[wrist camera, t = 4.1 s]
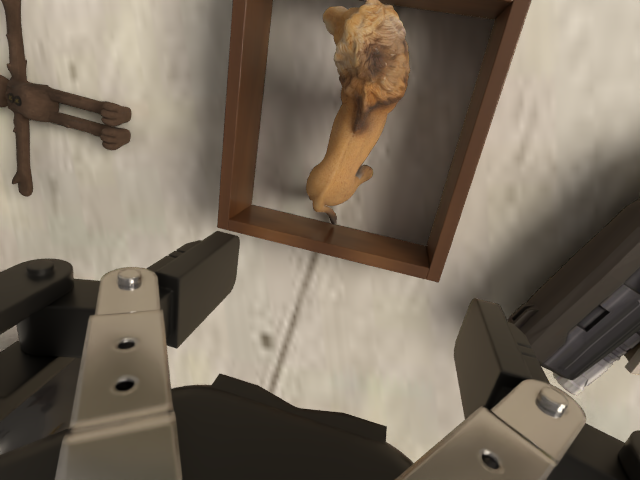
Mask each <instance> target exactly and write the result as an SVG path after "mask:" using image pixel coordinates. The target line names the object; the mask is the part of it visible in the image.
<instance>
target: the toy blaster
mask: <svg viewBox="0 0 640 480" xmlns="http://www.w3.org/2000/svg"><path fill="white" fill-rule="evenodd" d="M507 320H508V323H512V324H514V325H515V326H516V327H517V328H518V329H519V330H521V331H522V332H523V333H524V334H525V335H526V337H527V339H528V341H529V343H530V345H531V349H533V351H534V353H535V355H536V358H537V359H538V361H539V363H540V365H541V366H542V367H544V368H546V369H548V370H551V371H552V372H553V376H554V378H555V379H556V380H557V382H558V383H559V384H560V385H561V386H562V387H563V388H564V389H565V390H567V391H568V392H570V393H571V394H574V395H578V394H580V393H581V392H582V391H583V390H584V387H585V386H588V385H589V384H590V383H592V382H593V381H594V380H596V379H597V378H598V377H599V376H601V375H602V374H603V373H604V372H606V371H607V370H608V368H609V367H610V366H611V365H613V364H612V363H613V362H614V361H616V360H619V359H620V357H621V356H622V355H624V356H625V357H626V358H627V360H628V361H629V362H628V363H627V365H626V366H625V368H626V369H627V370H628V371H629V372H630V373H631V374H635V375H640V199H638V200H636V201H635V202H633V203H631V204H630V205H628V206H626V207H625V208H624V209H623V210H622V211H621V212H620V213H619V214H618V215H617V216H616V217H615V218H614V219H613V220H612V221H611V222H610V223H609V224H608V225H607V226H605V227H604V228H603V229H602V230H601V231H600V232H599V233H598V234H597V235H596V236H595V237H593V238H592V239H591V240H590V241H589V242H588V243H587V244H586V245H585V246H584V247H583V248H581V249H580V250H579V251H578V252H577V253H576V254H575V255H574V256H573V257H572V258H571V259H570V260H569V261H568V262H567V263H566V264H565V265H564V266H563V267H562V268H561V269H560V270H559V271H558V272H557V273H556V274H555V275H553V276H552V277H551V278H550V279H549V280H548V281H547V282H546V283H545V284H544V285H543V286H542V287H541V288H540V289H539V290H538V291H537V292H536V293H535V294H534V295H533V296H532V297H531V298H530V299H529V301H528V302H527V303H526V304H522V305H521V306H520V307H519V308H518V309H517V310H516V311H515V312H514V313H513V314H512V315H511V316H510V317H509V318H508V319H507Z"/></svg>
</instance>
